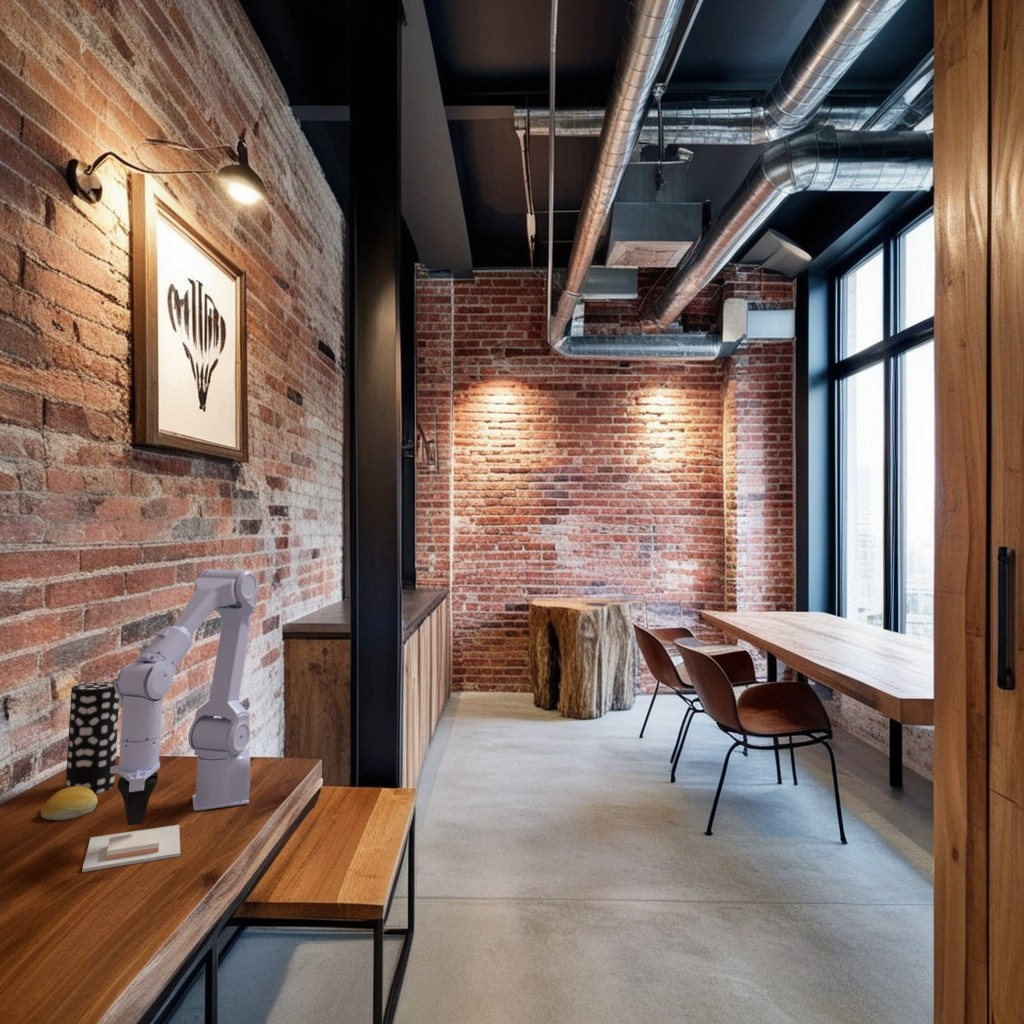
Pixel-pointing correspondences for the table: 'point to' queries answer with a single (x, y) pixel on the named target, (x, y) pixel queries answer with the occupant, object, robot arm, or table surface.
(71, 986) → the table surface
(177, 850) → the mat
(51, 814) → the bread roll
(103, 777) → the spotted tube
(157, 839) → the tile
